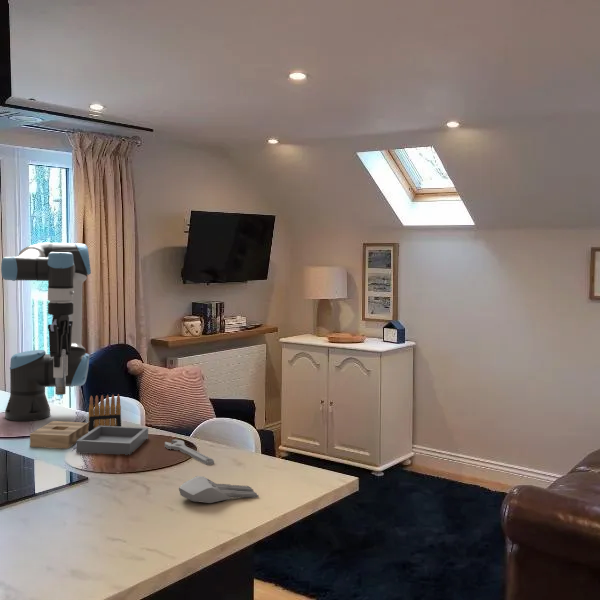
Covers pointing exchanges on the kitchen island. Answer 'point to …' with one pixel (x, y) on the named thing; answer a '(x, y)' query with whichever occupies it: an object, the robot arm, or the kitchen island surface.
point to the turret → (213, 490)
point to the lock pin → (61, 382)
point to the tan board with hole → (58, 434)
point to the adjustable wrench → (189, 451)
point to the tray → (112, 440)
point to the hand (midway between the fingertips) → (60, 376)
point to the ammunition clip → (104, 413)
